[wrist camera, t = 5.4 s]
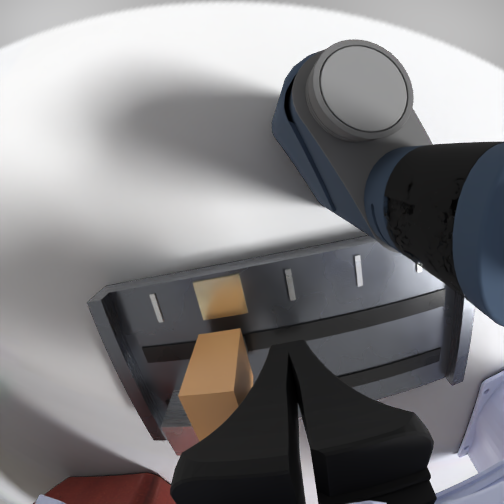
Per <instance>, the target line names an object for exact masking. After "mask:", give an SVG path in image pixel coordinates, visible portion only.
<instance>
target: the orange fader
mask: <svg viewBox="0 0 504 504" xmlns="http://www.w3.org/2000/svg"><path fill="white" fill-rule="evenodd" d="M247 352H248V350H247V346H246V342H245V339H244V336H242V332H241V328H239V329H232V330H226V331H219V332H213V333H206V334H199V335H198V338H197V341H196V344H195V347H194V350H193V353H192V356H191V359H190V362H189V365H188V368H187V371H186V373H185V376H184V380H183V383H182V386H181V389H180V392H179V395H178V397H179V399H180V401H181V404H182V406H183V408H184V410H185V412H186V414H187V417H188V419H189V421H190V423H191V425H192V427H193V429H194V431H195V433H196V435H197V437H198V439H199V441H201V440H203V439H204V438H206V437H207V436H208V435H210V434H211V433H212V432H213V431H215V430H216V429H217V428H218V427H219V426H221V425H222V424H223V423H224V422H225V421H226V420H227V419H228V418H229V417H230V416H231V414H232V413H233V412H234V411H235V410H236V409H237V408H238V406H239V405H240V404H241V403H242V401H243V400H244V399H245V397H246V396H247V394H248V393H249V391H250V390H251V388H252V386H253V374H252V370H251V366H250V362H249V359H248V355H247Z"/></svg>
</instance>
